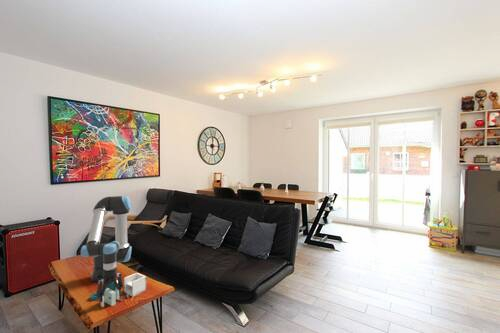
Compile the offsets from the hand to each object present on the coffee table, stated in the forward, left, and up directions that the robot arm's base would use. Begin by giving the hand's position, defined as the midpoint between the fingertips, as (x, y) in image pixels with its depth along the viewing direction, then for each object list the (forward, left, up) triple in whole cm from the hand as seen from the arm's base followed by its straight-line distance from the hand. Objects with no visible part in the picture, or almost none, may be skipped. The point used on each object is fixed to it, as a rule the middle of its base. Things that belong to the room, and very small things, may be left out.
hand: (110, 302), depth 159 cm
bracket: (-14, +4, -1) cm, 14 cm away
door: (0, 0, 0) cm, 0 cm away
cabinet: (0, +18, 0) cm, 18 cm away
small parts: (-1, +8, 0) cm, 8 cm away
